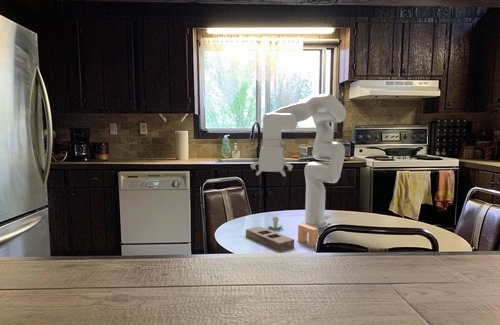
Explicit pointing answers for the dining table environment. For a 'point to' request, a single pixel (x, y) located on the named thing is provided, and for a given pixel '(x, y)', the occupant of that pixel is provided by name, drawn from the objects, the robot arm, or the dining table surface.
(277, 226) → the pacifier
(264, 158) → the robot arm
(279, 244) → the rail
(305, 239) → the clip
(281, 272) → the dining table surface
